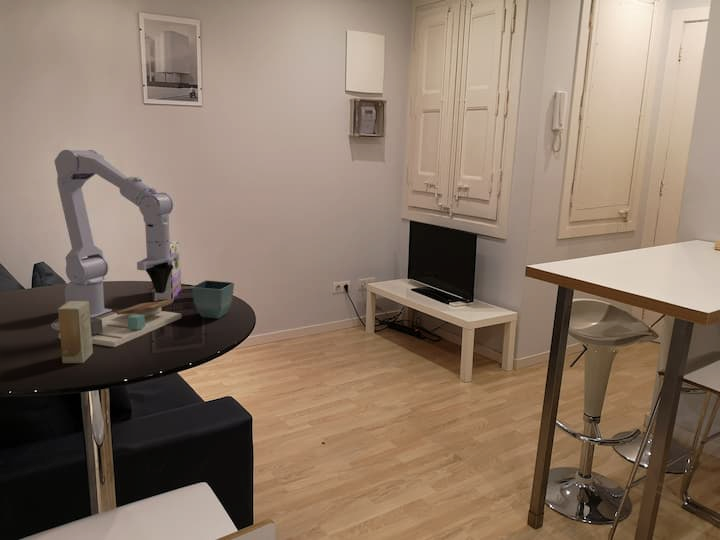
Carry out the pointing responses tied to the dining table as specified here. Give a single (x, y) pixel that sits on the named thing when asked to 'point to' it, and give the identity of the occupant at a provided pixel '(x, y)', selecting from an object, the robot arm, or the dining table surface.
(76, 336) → the skincare box
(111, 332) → the panel
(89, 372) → the dining table surface
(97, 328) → the graphite slider
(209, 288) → the flower pot
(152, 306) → the panel
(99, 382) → the dining table surface
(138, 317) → the teal slider
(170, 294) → the candy box
